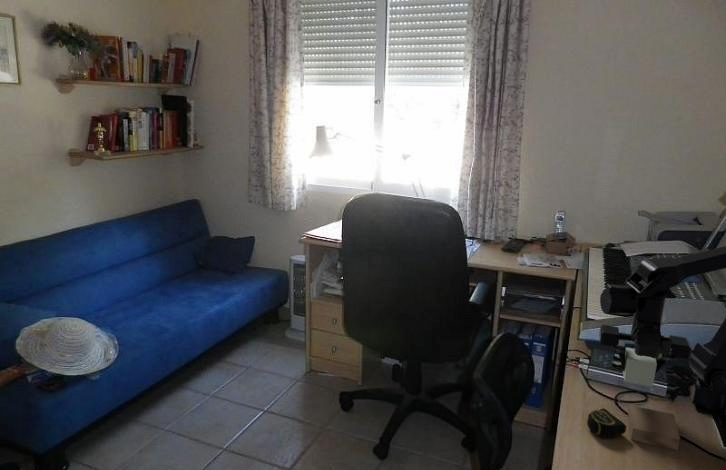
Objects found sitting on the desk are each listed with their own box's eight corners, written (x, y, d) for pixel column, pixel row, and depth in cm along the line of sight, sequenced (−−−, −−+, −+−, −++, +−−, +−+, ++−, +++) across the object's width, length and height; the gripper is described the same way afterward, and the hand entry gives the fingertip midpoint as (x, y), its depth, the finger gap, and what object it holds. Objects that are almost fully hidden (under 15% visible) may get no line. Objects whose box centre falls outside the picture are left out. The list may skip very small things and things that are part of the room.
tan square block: (671, 425, 119) (673, 414, 119) (677, 450, 111) (680, 438, 111) (627, 416, 123) (629, 405, 122) (631, 439, 115) (633, 428, 114)
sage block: (649, 373, 126) (653, 352, 125) (652, 386, 121) (656, 364, 119) (622, 369, 129) (626, 347, 127) (624, 381, 123) (627, 359, 122)
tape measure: (626, 437, 116) (628, 423, 114) (601, 443, 114) (603, 429, 113) (604, 419, 122) (606, 405, 121) (579, 424, 120) (581, 411, 119)
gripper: (605, 321, 116) (596, 382, 121) (702, 336, 109) (688, 400, 114) (603, 302, 126) (595, 359, 131) (692, 314, 119) (680, 374, 124)
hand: (637, 373), depth 124 cm, fingers closed on sage block, 6 cm apart
